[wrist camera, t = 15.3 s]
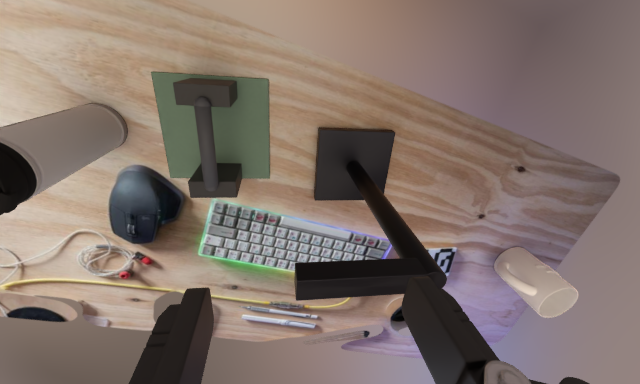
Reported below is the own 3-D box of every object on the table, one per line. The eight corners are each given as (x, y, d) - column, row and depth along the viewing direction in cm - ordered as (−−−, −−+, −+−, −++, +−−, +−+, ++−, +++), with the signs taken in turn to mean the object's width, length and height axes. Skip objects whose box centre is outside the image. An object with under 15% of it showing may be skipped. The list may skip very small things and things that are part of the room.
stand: (285, 126, 42) (299, 223, 18) (391, 129, 44) (527, 218, 20) (284, 196, 47) (294, 344, 23) (379, 196, 50) (476, 327, 26)
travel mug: (125, 156, 40) (7, 236, 23) (72, 136, 38) (-103, 207, 20) (135, 117, 38) (14, 171, 20) (80, 94, 36) (-108, 133, 18)
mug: (493, 239, 59) (541, 280, 48) (534, 248, 62) (588, 289, 51) (473, 269, 62) (514, 313, 51) (513, 276, 65) (560, 319, 54)
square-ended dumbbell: (189, 77, 37) (168, 83, 29) (236, 80, 38) (226, 87, 30) (202, 177, 43) (187, 202, 36) (242, 177, 44) (235, 202, 36)
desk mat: (152, 71, 36) (150, 71, 36) (268, 79, 38) (268, 79, 38) (171, 176, 43) (170, 177, 42) (269, 177, 45) (269, 178, 45)
